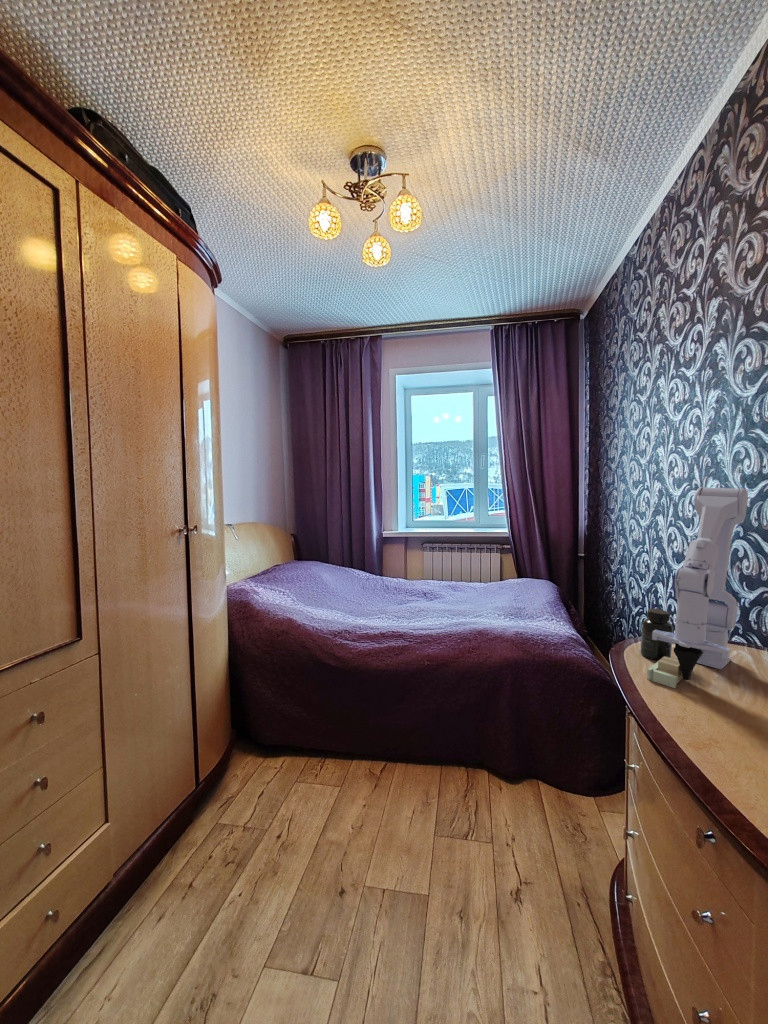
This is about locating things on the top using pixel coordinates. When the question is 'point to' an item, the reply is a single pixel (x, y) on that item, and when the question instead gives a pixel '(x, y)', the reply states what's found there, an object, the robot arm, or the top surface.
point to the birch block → (670, 667)
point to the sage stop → (661, 676)
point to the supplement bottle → (648, 645)
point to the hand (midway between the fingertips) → (686, 678)
